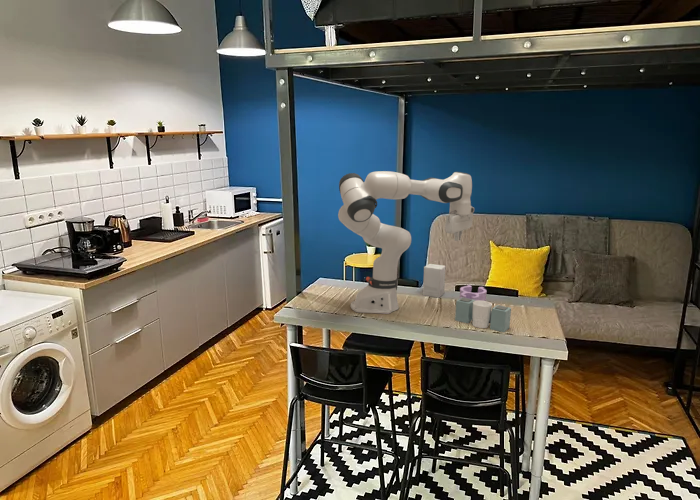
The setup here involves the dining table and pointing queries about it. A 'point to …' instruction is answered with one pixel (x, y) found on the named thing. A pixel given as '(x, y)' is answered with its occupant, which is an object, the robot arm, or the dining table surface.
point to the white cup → (481, 314)
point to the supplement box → (434, 280)
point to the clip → (467, 293)
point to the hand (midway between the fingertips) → (457, 240)
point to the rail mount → (497, 317)
